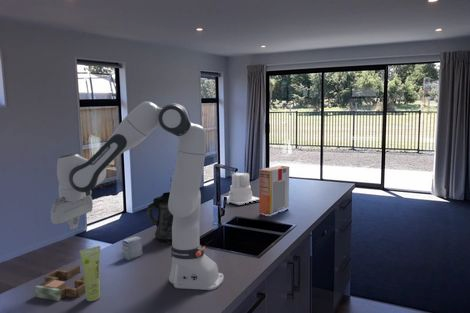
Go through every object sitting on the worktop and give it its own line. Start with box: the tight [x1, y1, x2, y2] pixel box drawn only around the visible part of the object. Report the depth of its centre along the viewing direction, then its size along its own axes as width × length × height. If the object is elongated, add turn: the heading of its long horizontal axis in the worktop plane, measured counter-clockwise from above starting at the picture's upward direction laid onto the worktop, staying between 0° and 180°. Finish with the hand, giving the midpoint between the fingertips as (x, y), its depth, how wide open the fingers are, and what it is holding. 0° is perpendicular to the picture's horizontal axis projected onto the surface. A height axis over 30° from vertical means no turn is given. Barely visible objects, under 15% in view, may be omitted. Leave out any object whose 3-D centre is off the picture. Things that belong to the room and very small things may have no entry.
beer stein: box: [146, 191, 173, 245], centre depth 206 cm, size 16×19×25 cm
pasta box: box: [258, 165, 290, 215], centre depth 259 cm, size 23×8×30 cm, turn 140°
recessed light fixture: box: [225, 172, 260, 206], centre depth 290 cm, size 25×22×21 cm
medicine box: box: [122, 236, 143, 261], centre depth 183 cm, size 8×4×9 cm, turn 141°
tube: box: [79, 245, 101, 302], centre depth 142 cm, size 6×5×20 cm
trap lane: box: [34, 264, 86, 302], centre depth 154 cm, size 21×23×4 cm
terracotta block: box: [45, 280, 67, 289], centre depth 147 cm, size 5×5×4 cm
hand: (74, 228), depth 155 cm, fingers closed
